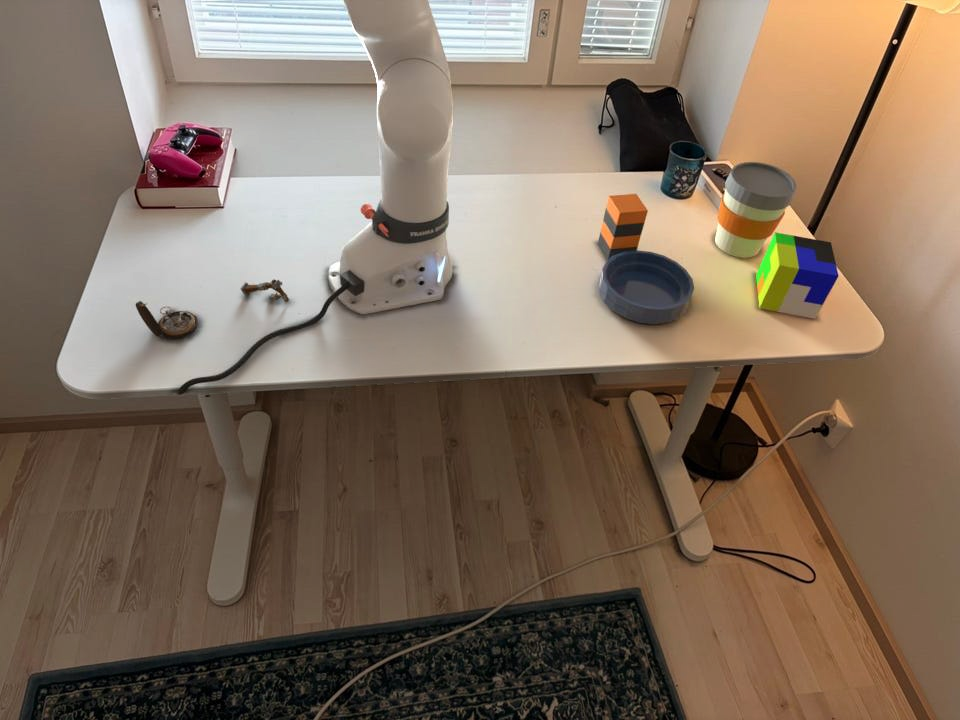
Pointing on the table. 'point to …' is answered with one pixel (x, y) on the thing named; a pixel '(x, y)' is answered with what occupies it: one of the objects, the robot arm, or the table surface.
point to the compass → (169, 322)
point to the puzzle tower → (622, 224)
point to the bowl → (645, 287)
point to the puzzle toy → (796, 275)
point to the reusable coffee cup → (752, 207)
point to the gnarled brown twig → (265, 286)
